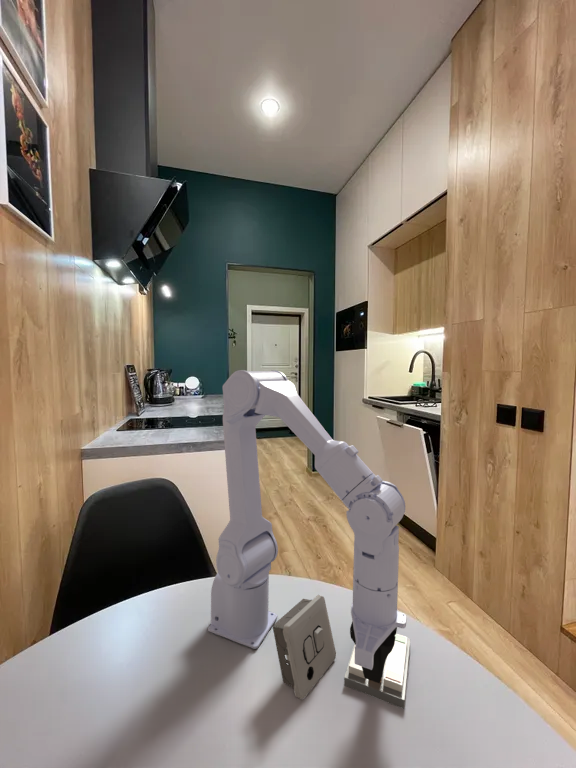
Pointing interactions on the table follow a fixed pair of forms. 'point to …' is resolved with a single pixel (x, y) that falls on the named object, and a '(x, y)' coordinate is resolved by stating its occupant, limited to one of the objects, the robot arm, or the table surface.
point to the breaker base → (384, 675)
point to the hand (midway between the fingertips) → (372, 676)
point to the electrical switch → (304, 644)
